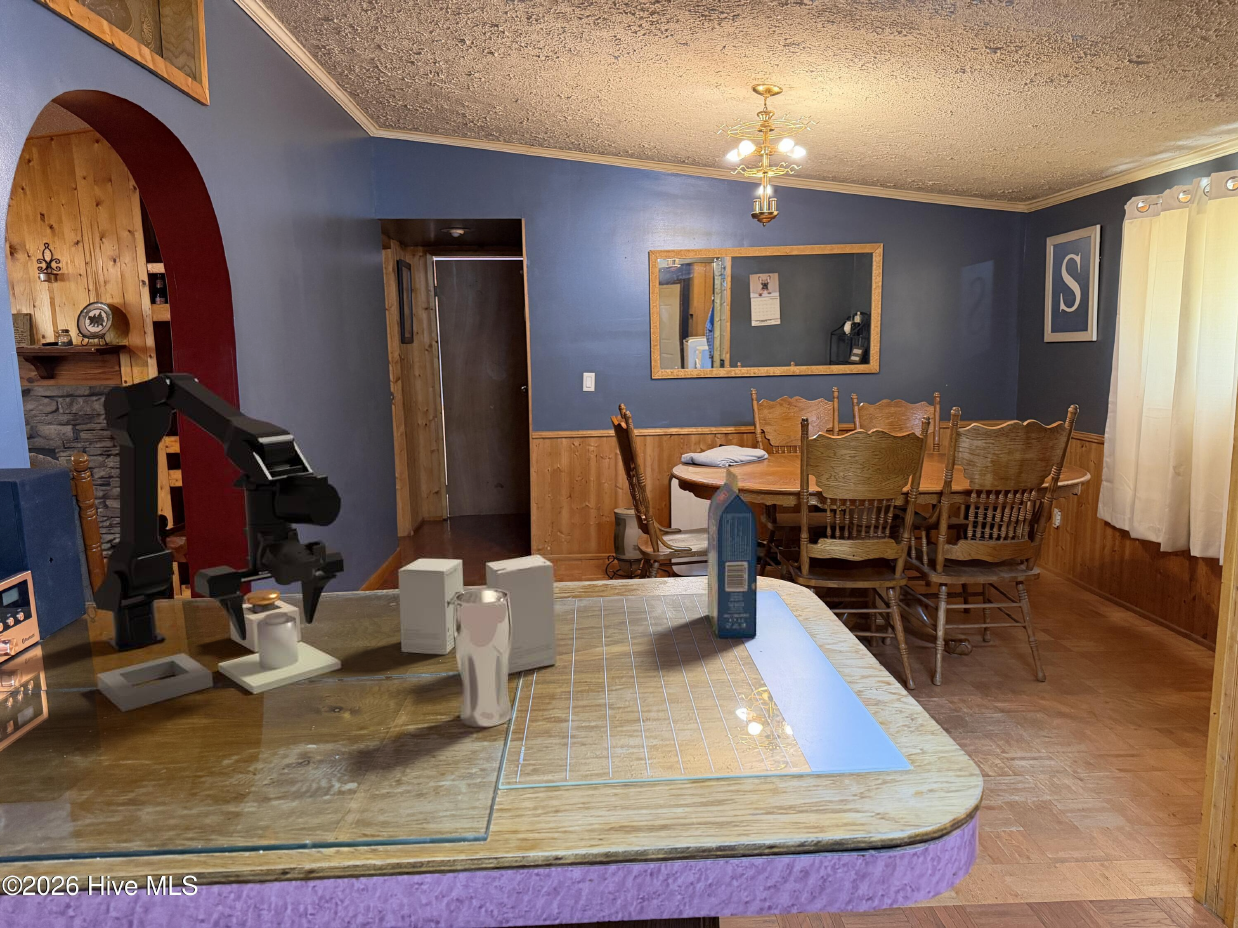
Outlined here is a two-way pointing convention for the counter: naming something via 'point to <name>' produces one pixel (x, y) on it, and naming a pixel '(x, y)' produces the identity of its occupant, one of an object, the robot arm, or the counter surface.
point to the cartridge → (277, 641)
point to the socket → (131, 697)
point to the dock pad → (262, 679)
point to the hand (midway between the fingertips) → (277, 631)
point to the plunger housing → (253, 618)
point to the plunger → (262, 600)
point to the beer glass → (483, 654)
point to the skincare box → (528, 609)
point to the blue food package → (732, 562)
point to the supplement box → (428, 604)
